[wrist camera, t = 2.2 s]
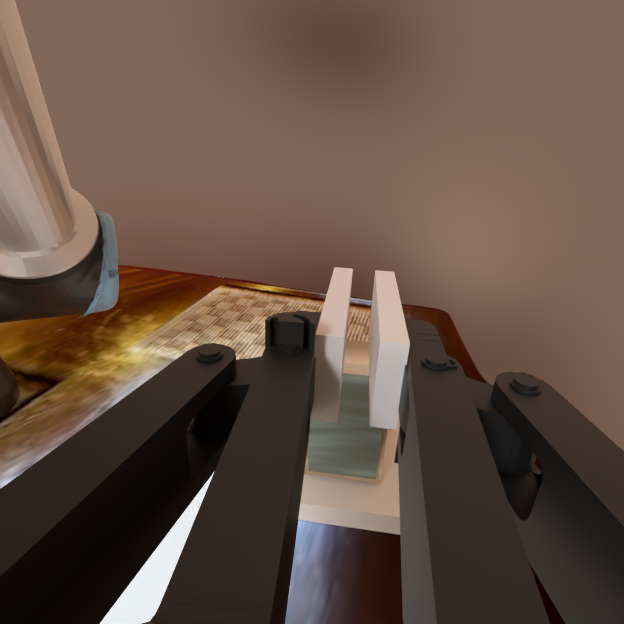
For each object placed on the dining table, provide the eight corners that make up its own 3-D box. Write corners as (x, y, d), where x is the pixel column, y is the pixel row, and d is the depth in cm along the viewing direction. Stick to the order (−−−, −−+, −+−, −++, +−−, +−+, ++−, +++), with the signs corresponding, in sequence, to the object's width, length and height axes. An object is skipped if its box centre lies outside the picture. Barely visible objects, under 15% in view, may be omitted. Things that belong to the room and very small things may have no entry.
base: (407, 535, 33) (411, 518, 33) (268, 515, 35) (268, 498, 34) (396, 428, 46) (398, 414, 45) (295, 416, 47) (295, 403, 47)
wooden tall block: (380, 488, 35) (396, 371, 30) (301, 478, 36) (306, 362, 31) (378, 452, 39) (393, 344, 35) (308, 443, 40) (314, 337, 35)
